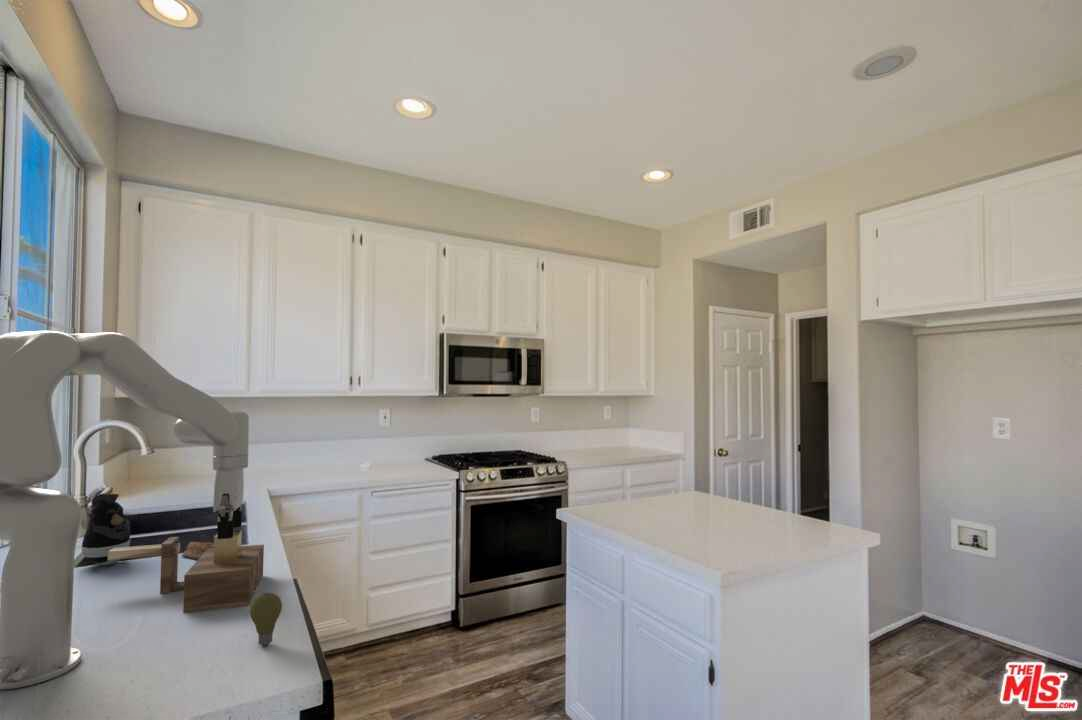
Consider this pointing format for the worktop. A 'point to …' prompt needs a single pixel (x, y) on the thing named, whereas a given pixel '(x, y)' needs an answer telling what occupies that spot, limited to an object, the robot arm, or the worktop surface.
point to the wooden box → (208, 584)
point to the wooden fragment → (197, 549)
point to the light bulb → (265, 615)
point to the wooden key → (139, 551)
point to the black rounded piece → (105, 529)
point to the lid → (225, 559)
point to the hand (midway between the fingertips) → (229, 532)
